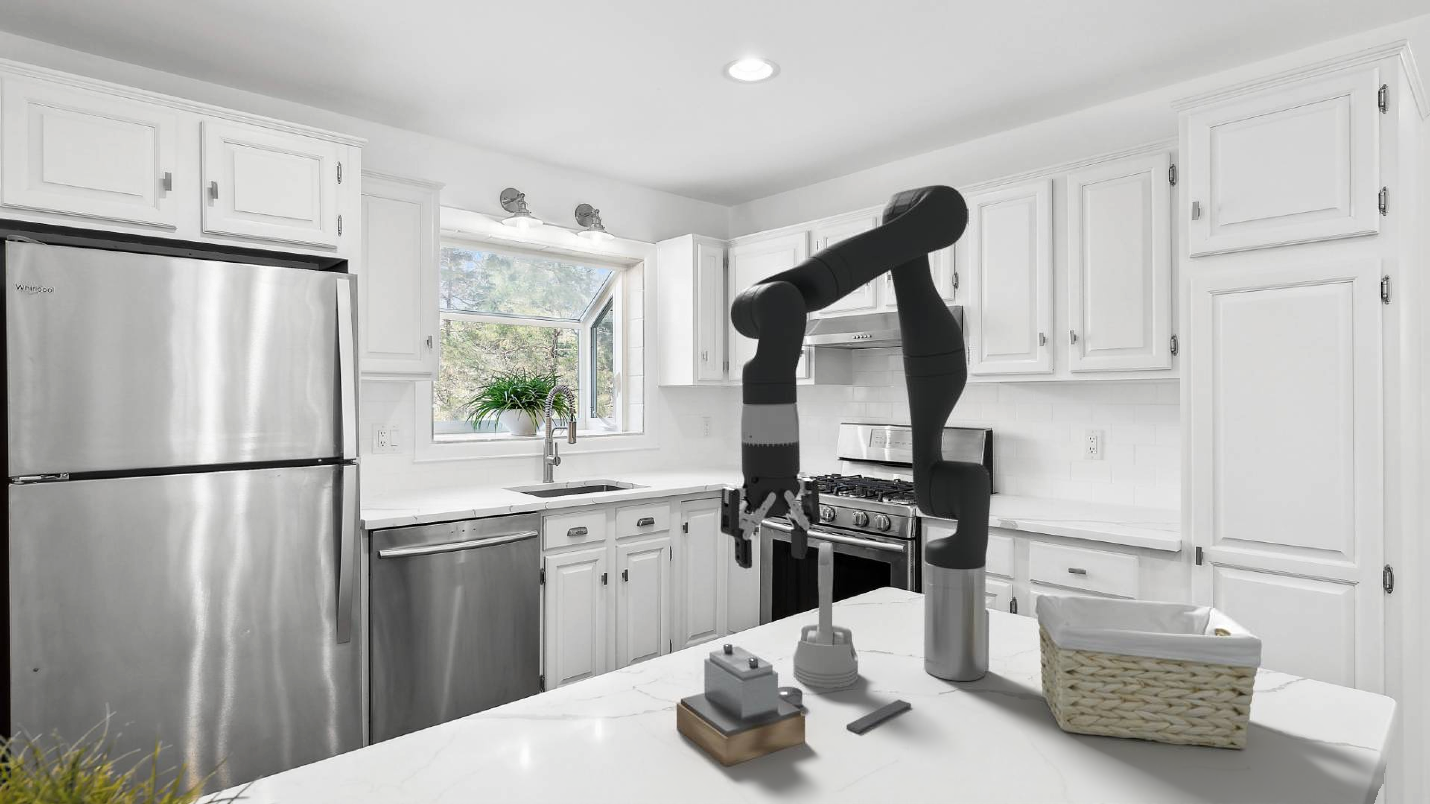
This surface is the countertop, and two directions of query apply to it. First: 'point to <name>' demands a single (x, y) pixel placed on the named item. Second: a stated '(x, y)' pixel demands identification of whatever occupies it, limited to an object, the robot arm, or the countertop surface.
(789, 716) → the stand
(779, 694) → the dark grey domed cap
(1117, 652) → the storage basket
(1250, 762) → the countertop surface
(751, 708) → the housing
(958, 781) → the countertop surface
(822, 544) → the engine component
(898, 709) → the bar
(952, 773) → the countertop surface
